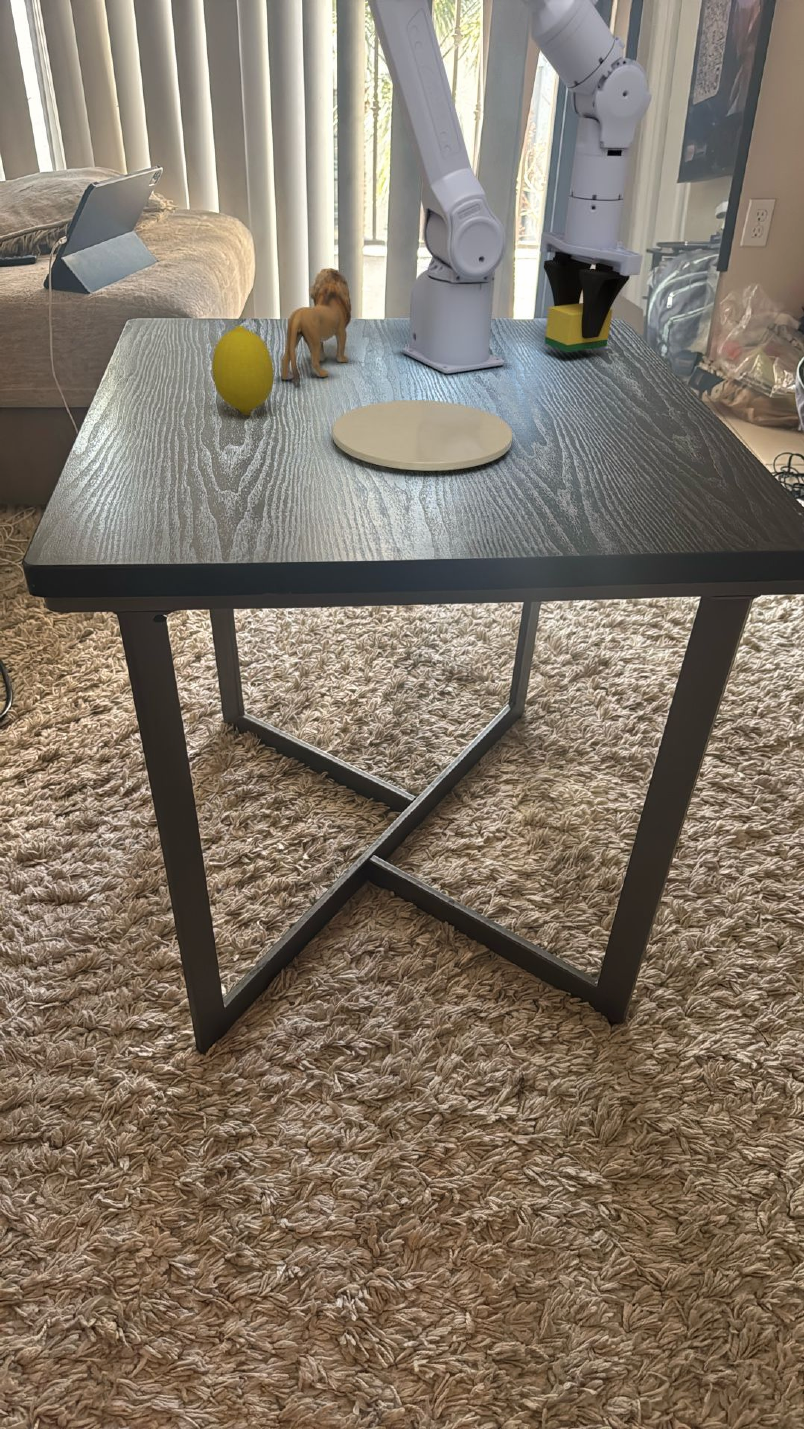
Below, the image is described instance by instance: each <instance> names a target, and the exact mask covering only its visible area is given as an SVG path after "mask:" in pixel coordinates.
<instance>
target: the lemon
mask: <svg viewBox="0 0 804 1429" xmlns="http://www.w3.org/2000/svg"><path fill="white" fill-rule="evenodd" d="M212 379H213V383H214V386H215V388H216V391H217V393H218V394H219V397H221V399H222V400H223V401H224V402H225V403H226V404H227V405H229V406H230V407H232V408H235V409H237V410H238V411H239V412H240V413H241V414H242V415H244V416H247V415H250V414H251V413H252V412H253V411H254V409H256V408H258V407H260V406H261V405H263V404H264V403H265V402H266V401H267V400H268V398H269V396H270V394H271V391H272V388H273V384H274V366H273V361H272V357H271V354H270V351H269V348H268V346H267V344H266V343H265V341H264V340H263V339H262V338H261V337H260V336H259V335H257V334H256V333H255V332H253V331H251V330H248V329H246V328H245V326H244V325H236V326H235V327H234V328H233V330H230V331H227V332H226V333H224V334H223V335H222V337H220V338H219V340H218V341H217V343H216V345H215V348H214V351H213V356H212Z"/></svg>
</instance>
